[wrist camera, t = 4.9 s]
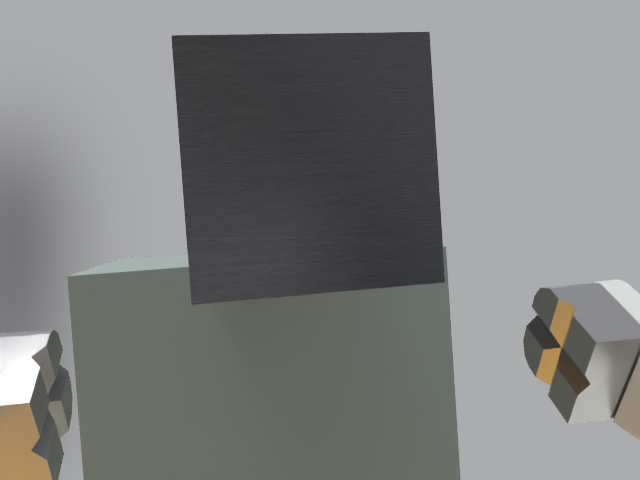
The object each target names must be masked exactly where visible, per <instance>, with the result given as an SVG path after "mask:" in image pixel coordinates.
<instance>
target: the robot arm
mask: <svg viewBox="0 0 640 480" xmlns="http://www.w3.org/2000/svg"><path fill="white" fill-rule="evenodd" d="M532 307H533V309H534V311H535V313H536V314H537V316H536V317H535V318H534V319H533V320H532V321H531V322H530V323H529V324H528V325H527V327H526V331H525V336H524V341H523V342H524V351H525V357H526V360H527V362H528V365H529V367H530V369H531V370H532V372H533V373H534V375H535V376H536V377H537V378H539V379H540V380H542V381H544V382H545V383H547V384H549V385H550V388H549V394H548V396H549V397H550V399H551V400H552V401H553V403H554V404H555V406H556V407H557V409H558V410H559V412H560V413H561V414H562V416H563V418H564V419H565V420H566V422H567V423H568V424H572V423H582V422H592V421H602V420H612V419H614V421H613V422H614V423H616V424H617V425H619V426H620V427H621V428H623V429H624V430H626V431H627V432H629V433H630V434H631V435H633V436H634V437H636V438H637V439H639V440H640V295H639V294H638V293H637V292H636V291H635V290H634V289H633V288H632V287H631V286H630V285H629V284H628V283H626V282H624V281H621V280H619V279H616V280H608V281H599V282H592V283H588V284H577V285H566V286H555V287H545V288H540V289H539V291H538V292H537V293H536V295H535V297H534V301H533V304H532ZM62 351H63V350H62V345H61V342H60V338H59V335H58V333H57V332H56V331H55V330H42V331H27V332H12V333H0V480H58V477H59V473H60V468H61V464H62V459H63V455H64V453H63V449H62V445H61V441H60V438H61V437H62V436H63V435H64V434H65V433H66V432H67V431H68V430H69V425H70V420H71V415H72V414H71V413H72V391H71V382H70V378H69V374H68V371H67V370H66V369H65V368H63V367H62V366H60V365H59V363H60V359H61V354H62Z"/></svg>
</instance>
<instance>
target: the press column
mask: <svg viewBox="0 0 640 480" xmlns="http://www.w3.org/2000/svg"><path fill="white" fill-rule="evenodd" d="M443 260H444V276H445V283H433V284H422V285H411V286H399V287H388V288H377V289H366V290H354V291H343V292H332V293H320V294H309V295H298V296H286V297H275V298H264V299H253V300H241V301H230V302H219V303H207V304H196V305H192V303H191V290H190V276H189V263H188V253H184V254H171V255H157V256H143V257H130V258H123V259H119V260H116V261H113V262H110V263H107V264H104V265H101V266H98V267H95V268H92V269H89V270H85V271H82V272H79V273H76V274H73V275H70V276H68V289H69V301H70V313H71V326H72V339H73V351H74V364H75V376H76V387H77V388H76V389H77V400H78V413H79V425H80V438H81V450H82V463H83V476H84V480H460V468H459V450H458V434H457V419H456V403H455V386H454V371H453V353H452V339H451V321H450V305H449V289H448V273H447V258H446V247H443Z"/></svg>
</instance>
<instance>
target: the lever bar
mask: <svg viewBox="0 0 640 480" xmlns="http://www.w3.org/2000/svg"><path fill="white" fill-rule="evenodd" d="M172 48H173V61H174V75H175V88H176V101H177V115H178V128H179V142H180V155H181V168H182V182H183V195H184V209H185V222H186V236H187V249H188V263H189V276H190V290H191V303H192V305H196V304H207V303H219V302H230V301H241V300H253V299H264V298H275V297H286V296H298V295H309V294H320V293H332V292H343V291H354V290H366V289H377V288H388V287H399V286H411V285H422V284H433V283H445V276H444V260H443V244H442V227H441V211H440V196H439V181H438V164H437V148H436V132H435V116H434V101H433V83H432V67H431V52H430V35H429V32H400V33H399V32H396V33H331V34H330V33H325V34H255V35H254V34H253V35H181V36H180V35H179V36H172Z"/></svg>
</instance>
